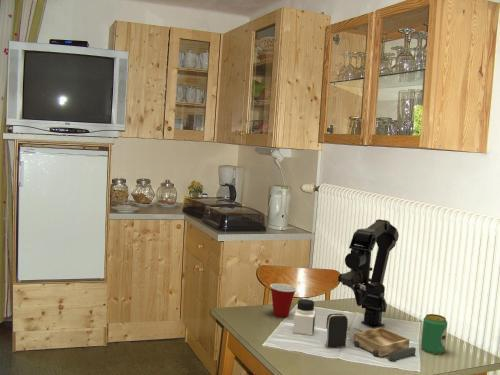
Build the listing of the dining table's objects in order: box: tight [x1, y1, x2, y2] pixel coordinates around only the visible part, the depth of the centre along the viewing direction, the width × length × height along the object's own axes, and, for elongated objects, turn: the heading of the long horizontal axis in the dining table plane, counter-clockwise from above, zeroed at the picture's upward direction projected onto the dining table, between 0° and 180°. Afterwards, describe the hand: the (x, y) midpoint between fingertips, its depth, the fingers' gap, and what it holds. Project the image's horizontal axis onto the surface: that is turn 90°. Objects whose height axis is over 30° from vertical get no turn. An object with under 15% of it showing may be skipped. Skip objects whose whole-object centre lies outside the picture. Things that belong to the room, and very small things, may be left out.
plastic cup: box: [269, 283, 297, 318], centre depth 222 cm, size 11×11×12 cm
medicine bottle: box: [293, 298, 316, 336], centre depth 206 cm, size 7×7×12 cm
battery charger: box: [325, 313, 349, 348], centre depth 193 cm, size 7×4×11 cm, turn 102°
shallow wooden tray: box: [353, 326, 411, 357], centre depth 194 cm, size 16×13×4 cm
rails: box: [346, 327, 417, 363], centre depth 197 cm, size 12×29×2 cm, turn 34°
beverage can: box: [420, 313, 448, 355], centre depth 194 cm, size 8×8×12 cm
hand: (359, 305), depth 203 cm, fingers closed
